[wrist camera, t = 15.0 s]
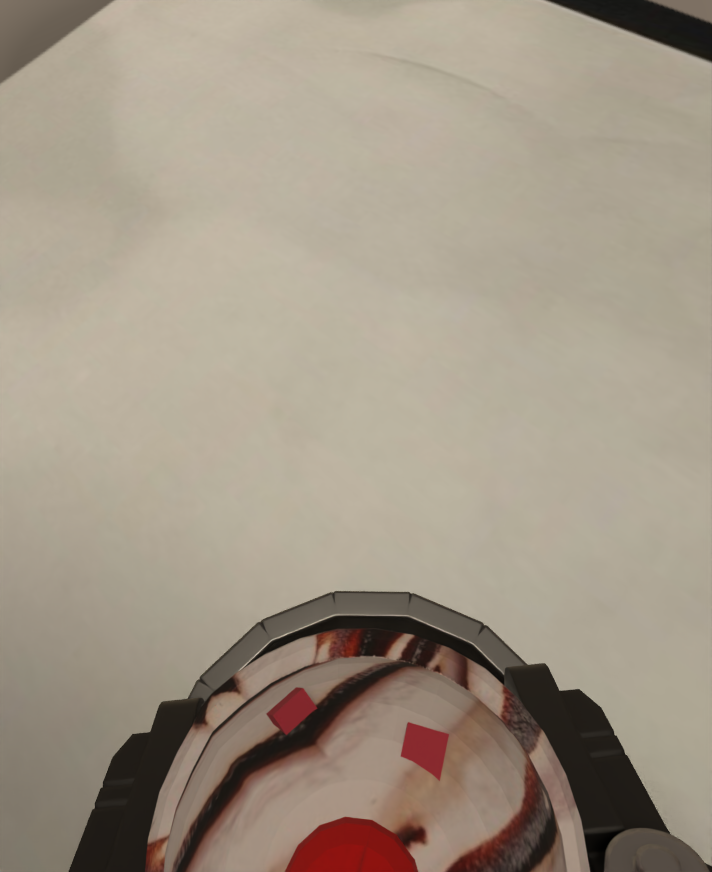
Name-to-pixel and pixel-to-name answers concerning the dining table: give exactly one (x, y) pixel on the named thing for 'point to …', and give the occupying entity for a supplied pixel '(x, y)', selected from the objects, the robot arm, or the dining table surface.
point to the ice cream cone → (365, 768)
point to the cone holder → (363, 613)
